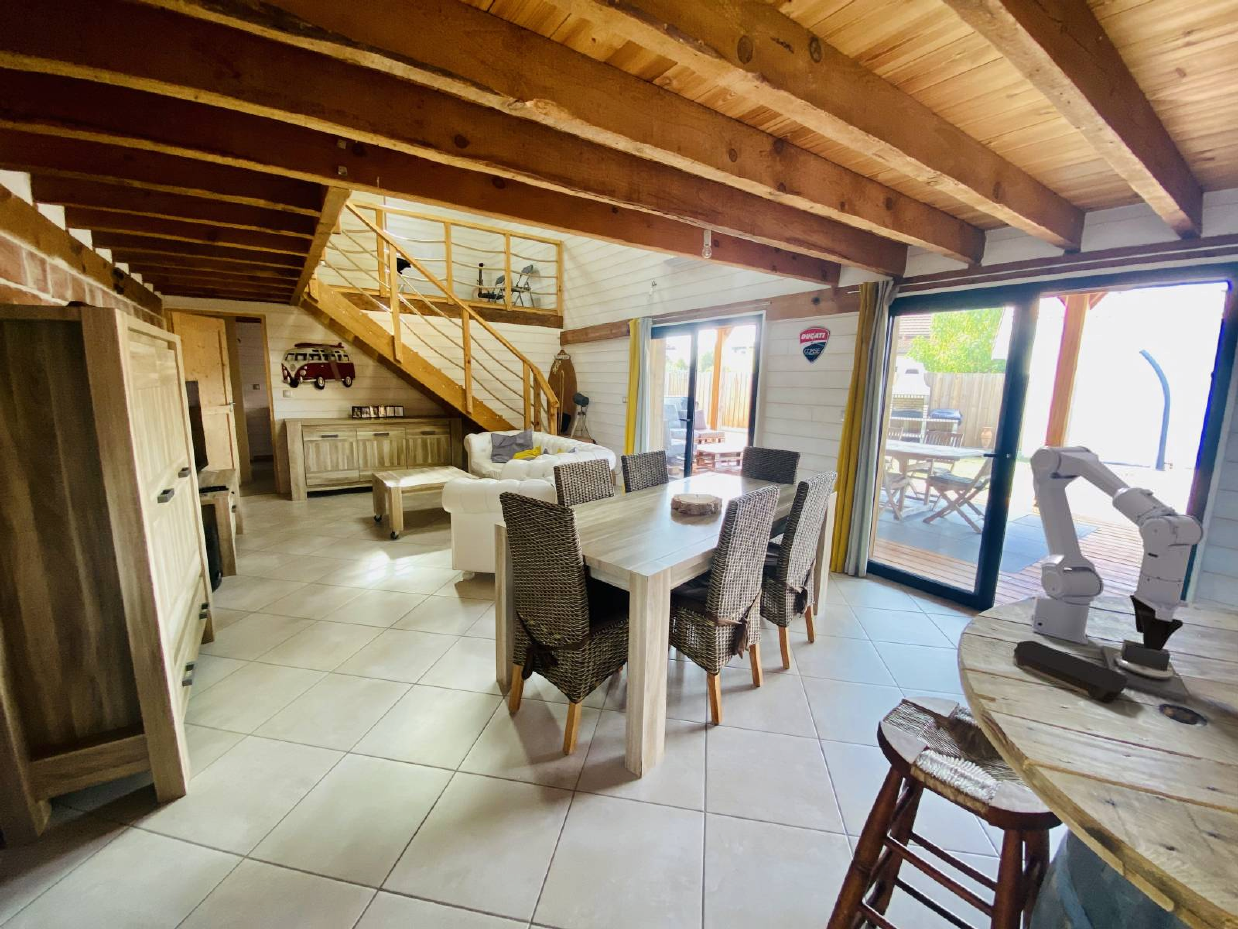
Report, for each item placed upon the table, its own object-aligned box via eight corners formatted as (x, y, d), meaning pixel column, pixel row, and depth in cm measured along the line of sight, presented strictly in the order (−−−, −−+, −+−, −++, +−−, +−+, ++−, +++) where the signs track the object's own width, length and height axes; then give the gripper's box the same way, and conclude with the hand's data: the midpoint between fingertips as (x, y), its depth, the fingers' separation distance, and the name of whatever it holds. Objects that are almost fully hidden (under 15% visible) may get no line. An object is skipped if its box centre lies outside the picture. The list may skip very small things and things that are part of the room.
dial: (1116, 668, 96) (1121, 648, 95) (1110, 651, 102) (1114, 632, 101) (1176, 684, 91) (1181, 663, 90) (1166, 665, 97) (1171, 645, 96)
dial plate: (1110, 681, 94) (1111, 673, 94) (1100, 651, 105) (1102, 644, 105) (1187, 703, 88) (1189, 695, 88) (1168, 668, 99) (1170, 661, 98)
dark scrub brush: (1128, 695, 91) (1132, 677, 90) (1111, 709, 87) (1115, 691, 86) (1023, 653, 105) (1026, 637, 104) (1005, 663, 101) (1007, 647, 100)
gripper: (1204, 594, 85) (1188, 664, 87) (1182, 570, 96) (1169, 633, 98) (1146, 583, 89) (1132, 650, 92) (1132, 561, 100) (1120, 622, 103)
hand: (1148, 640), depth 95 cm, fingers open, 7 cm apart
